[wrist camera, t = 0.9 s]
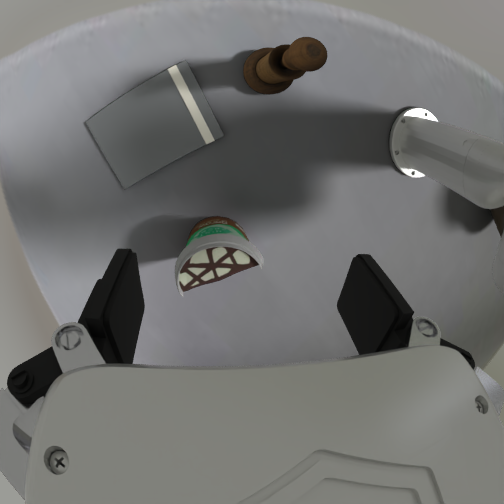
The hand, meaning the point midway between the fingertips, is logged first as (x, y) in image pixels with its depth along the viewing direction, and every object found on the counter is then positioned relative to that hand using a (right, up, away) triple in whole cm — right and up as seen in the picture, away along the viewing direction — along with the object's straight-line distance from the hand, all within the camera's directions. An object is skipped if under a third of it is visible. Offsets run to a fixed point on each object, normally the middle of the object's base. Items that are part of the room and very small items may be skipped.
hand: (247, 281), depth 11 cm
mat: (-13, +18, +21) cm, 31 cm away
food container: (-6, +5, +31) cm, 32 cm away
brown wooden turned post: (+2, +25, +19) cm, 32 cm away
